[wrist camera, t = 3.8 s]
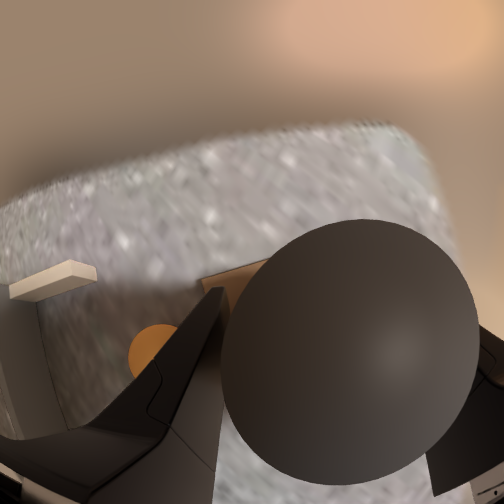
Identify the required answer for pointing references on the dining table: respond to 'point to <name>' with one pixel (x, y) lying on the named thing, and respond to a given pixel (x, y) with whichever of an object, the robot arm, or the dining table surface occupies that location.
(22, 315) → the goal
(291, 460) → the ball
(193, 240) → the dining table surface
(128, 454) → the robot arm
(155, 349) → the ball
